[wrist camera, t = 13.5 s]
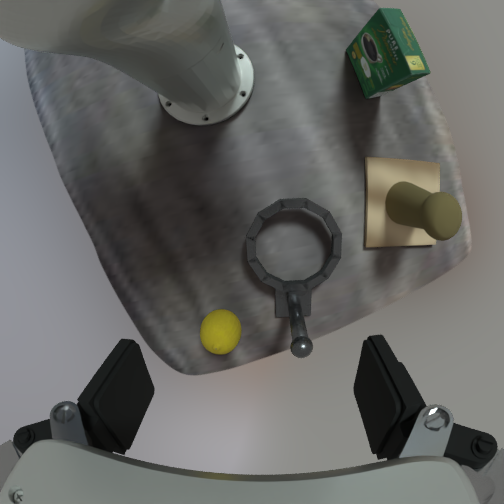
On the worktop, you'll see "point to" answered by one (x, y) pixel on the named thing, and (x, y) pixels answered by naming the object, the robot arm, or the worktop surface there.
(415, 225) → the pepper shaker
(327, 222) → the ring stand
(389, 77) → the coffee box
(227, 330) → the lemon
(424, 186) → the cork mat
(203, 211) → the worktop surface
